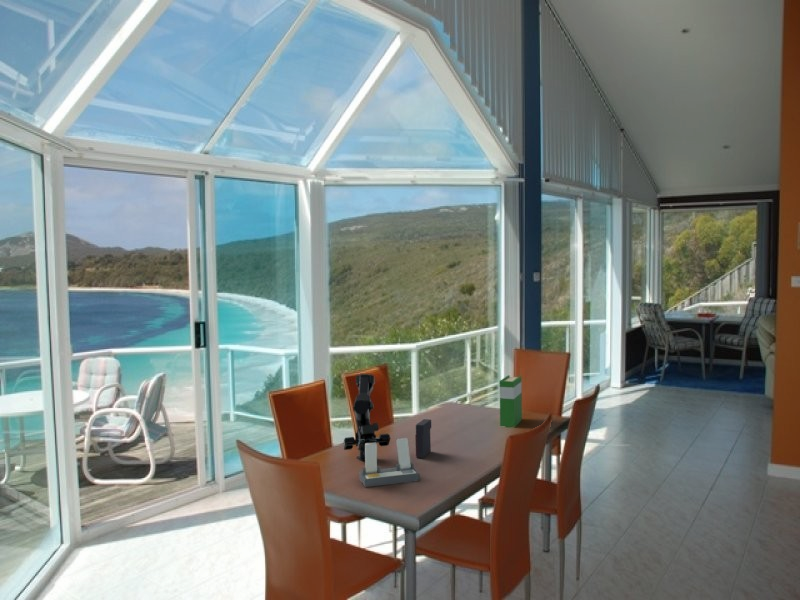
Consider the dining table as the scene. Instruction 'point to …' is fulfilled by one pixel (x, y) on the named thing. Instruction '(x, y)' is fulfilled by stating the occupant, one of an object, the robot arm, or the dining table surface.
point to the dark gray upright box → (423, 438)
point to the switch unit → (388, 476)
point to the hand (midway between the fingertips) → (370, 460)
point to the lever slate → (403, 453)
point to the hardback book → (510, 401)
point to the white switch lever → (370, 457)
